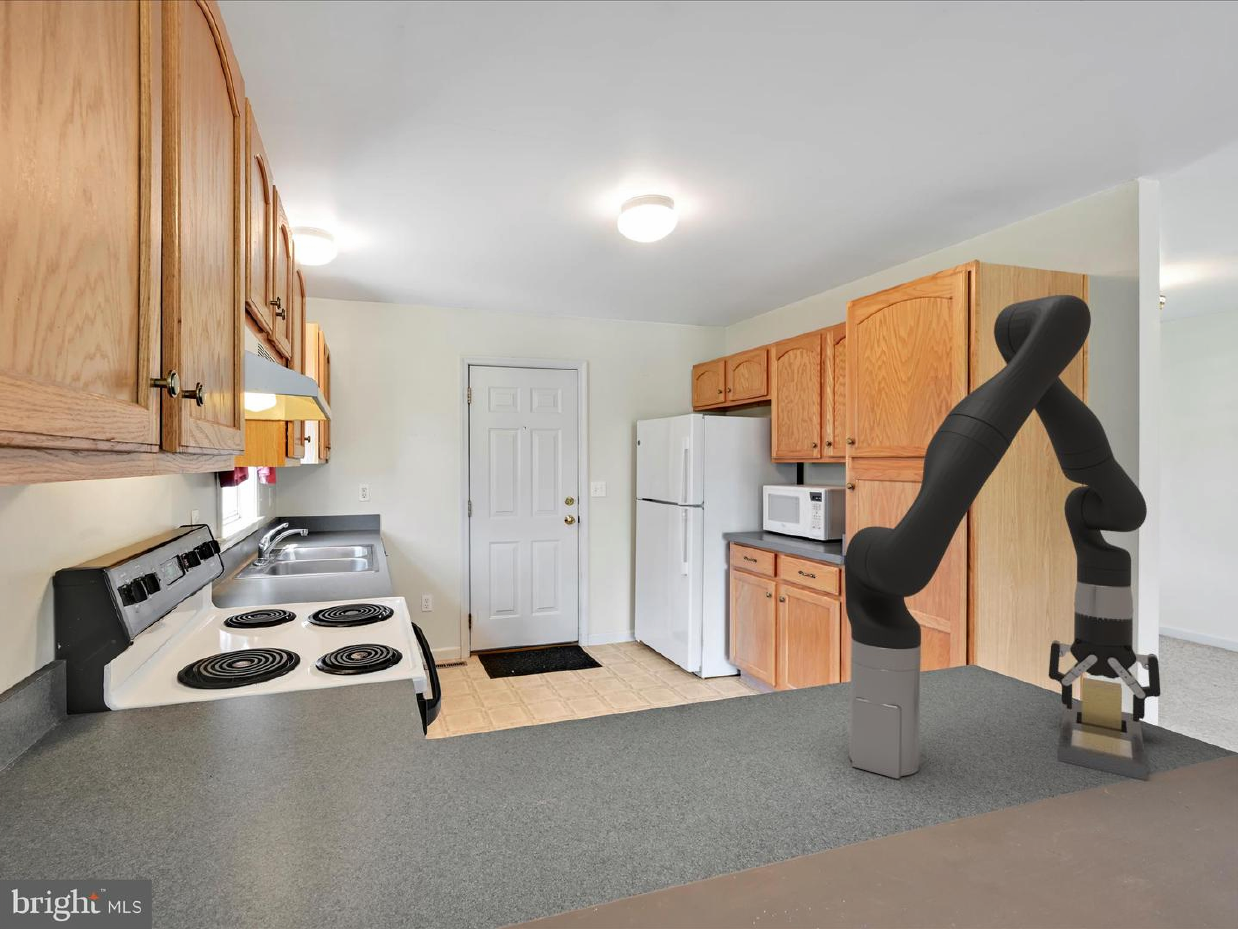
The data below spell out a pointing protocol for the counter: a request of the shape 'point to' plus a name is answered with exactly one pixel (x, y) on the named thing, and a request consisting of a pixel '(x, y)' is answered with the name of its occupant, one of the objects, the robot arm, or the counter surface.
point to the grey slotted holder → (1103, 745)
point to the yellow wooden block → (1101, 704)
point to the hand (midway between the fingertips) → (1101, 714)
